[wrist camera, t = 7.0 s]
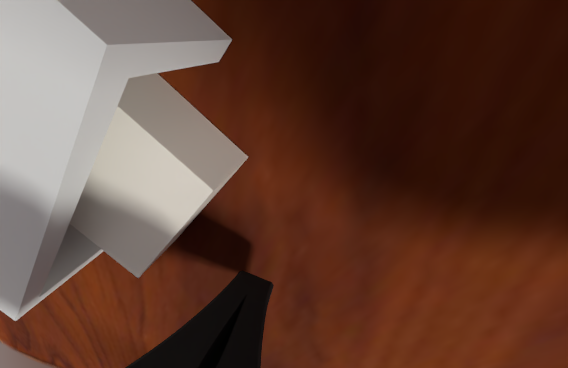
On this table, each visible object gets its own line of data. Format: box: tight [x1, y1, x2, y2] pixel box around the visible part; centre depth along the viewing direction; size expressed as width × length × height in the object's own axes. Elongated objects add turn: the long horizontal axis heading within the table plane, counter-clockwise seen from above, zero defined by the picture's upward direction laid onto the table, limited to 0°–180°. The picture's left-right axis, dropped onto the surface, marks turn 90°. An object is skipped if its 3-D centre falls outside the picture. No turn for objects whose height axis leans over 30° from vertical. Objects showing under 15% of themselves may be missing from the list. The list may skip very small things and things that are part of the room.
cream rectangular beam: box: [70, 73, 248, 278], centre depth 10 cm, size 10×6×2 cm, turn 49°
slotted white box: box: [0, 0, 232, 321], centre depth 9 cm, size 8×13×4 cm, turn 140°
